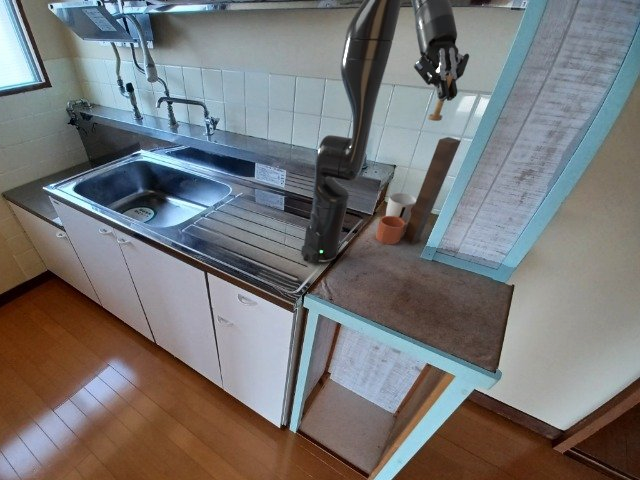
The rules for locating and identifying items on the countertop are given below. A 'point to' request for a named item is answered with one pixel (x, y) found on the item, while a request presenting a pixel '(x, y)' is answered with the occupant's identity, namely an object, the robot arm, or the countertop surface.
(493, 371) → the countertop surface
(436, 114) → the stick
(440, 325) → the countertop surface
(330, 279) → the countertop surface
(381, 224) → the terracotta pot
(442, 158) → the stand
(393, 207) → the cup
